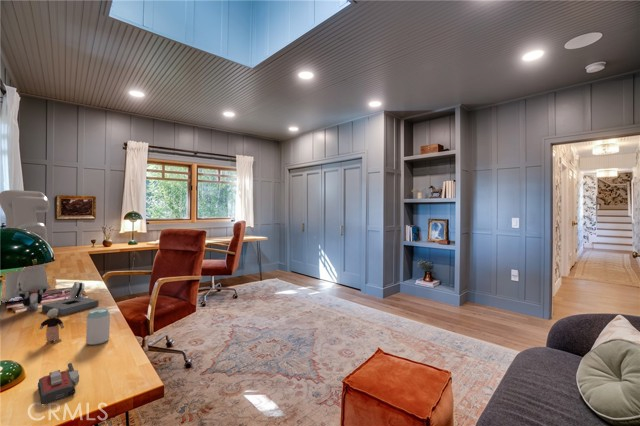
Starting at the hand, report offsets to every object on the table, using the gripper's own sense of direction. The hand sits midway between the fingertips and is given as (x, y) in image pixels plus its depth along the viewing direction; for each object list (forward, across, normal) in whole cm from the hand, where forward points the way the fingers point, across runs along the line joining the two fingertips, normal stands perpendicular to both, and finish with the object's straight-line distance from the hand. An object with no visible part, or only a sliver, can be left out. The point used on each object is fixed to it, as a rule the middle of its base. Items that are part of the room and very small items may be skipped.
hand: (32, 304), depth 144 cm
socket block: (+3, -9, +14) cm, 17 cm away
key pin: (+3, 0, 0) cm, 3 cm away
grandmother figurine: (+3, +17, +50) cm, 53 cm away
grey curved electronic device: (+3, -20, -3) cm, 21 cm away
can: (+3, +10, +65) cm, 66 cm away
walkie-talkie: (+3, +32, +84) cm, 90 cm away
